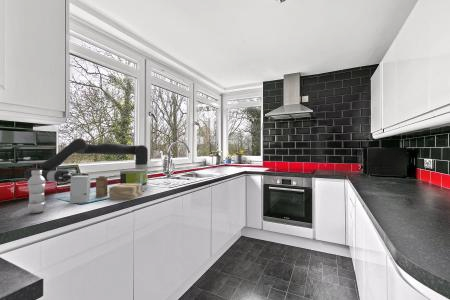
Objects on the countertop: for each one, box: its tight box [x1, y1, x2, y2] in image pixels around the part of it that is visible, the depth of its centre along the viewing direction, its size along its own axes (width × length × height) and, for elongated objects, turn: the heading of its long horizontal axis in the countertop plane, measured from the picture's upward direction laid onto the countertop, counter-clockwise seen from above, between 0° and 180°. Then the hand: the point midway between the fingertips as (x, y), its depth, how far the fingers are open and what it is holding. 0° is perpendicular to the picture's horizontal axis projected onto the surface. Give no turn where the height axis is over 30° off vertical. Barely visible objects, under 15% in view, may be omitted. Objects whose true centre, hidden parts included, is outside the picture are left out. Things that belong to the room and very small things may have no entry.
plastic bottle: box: [27, 170, 47, 214], centre depth 96 cm, size 6×7×20 cm
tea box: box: [119, 169, 147, 192], centre depth 148 cm, size 15×10×15 cm
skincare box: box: [69, 175, 91, 204], centre depth 116 cm, size 8×6×15 cm
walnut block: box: [95, 175, 108, 198], centre depth 129 cm, size 4×4×13 cm
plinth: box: [108, 183, 143, 200], centre depth 128 cm, size 14×14×7 cm
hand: (83, 176), depth 129 cm, fingers open, 8 cm apart
